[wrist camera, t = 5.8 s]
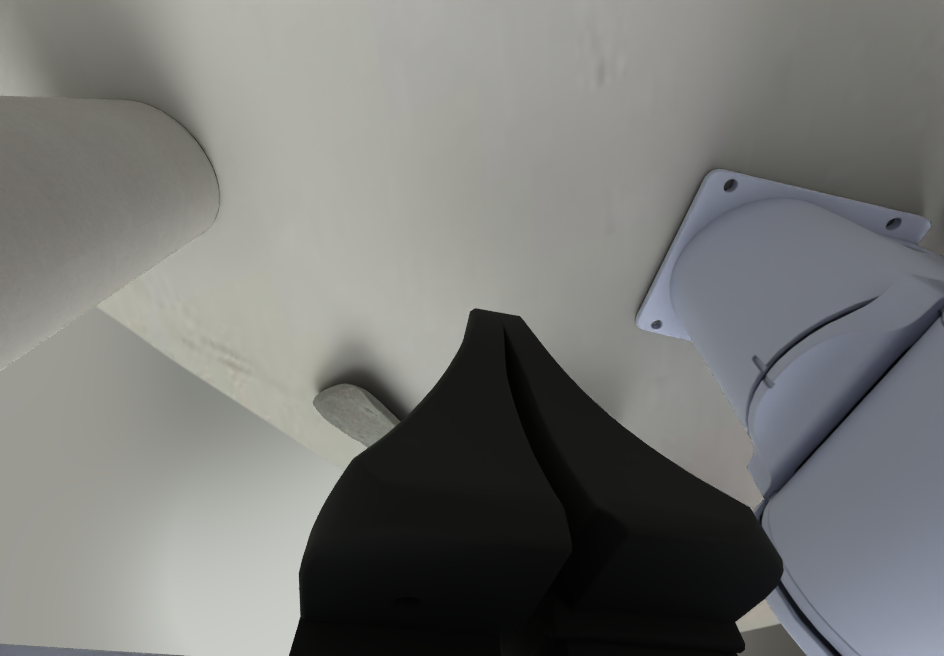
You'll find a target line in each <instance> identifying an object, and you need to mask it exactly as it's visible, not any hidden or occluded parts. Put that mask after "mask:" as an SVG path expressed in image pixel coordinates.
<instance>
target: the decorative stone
mask: <svg viewBox="0 0 944 656" xmlns="http://www.w3.org/2000/svg"><path fill="white" fill-rule="evenodd" d="M313 405H314V406H315V408H316V409H317V410H318V412H319V413H320V414H321V415H322V416H323V417H324V418H325V419H326V420H327V421H328V422H330V423H331V424H332V425H334V426H335V427H337V428H338V429H340V430H341V431H342V432H344V433H345V434H347V435H348V436H350V437H351V438H353V439H355V440H357V441H359V442H361V443H362V444H363V445H365V446H366V447H368V448H369V447H370V446H371V445H373V444H374V443H375V442H377V441H378V440H379V439H381V438H382V437H383V436H385V435H386V434H387V433H388V432H389V431H391V430H392V429H393V428H394V427H395V426H396V425H397V424H398V423H399V422H400V421H399V420H398V419H397V418H396V417H395V416H394V415H393V414H392V413H391V412H390V411H389V410H388V409H387V408H386V407H385V406H384V405H383V404H382V403H381V402H380V401H379V400H377V399H376V398H375V397H374V396H373V395H371V394H370V393H369V392H368V391H366V390H365V389H363V388H361V387H358V386H356V385H352V384H339V385H336V386H333V387H330V388H328V389H326V390H324V391H322V392H320V393H319V394H318V395H317V396H316V397H315V398H314V401H313Z"/></svg>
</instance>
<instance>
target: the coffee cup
mask: <svg viewBox="0 0 944 656" xmlns="http://www.w3.org/2000/svg"><path fill="white" fill-rule="evenodd" d="M218 209H219V188H218V183H217V179H216V176H215V173H214V171H213V168H212V166H211V164H210V162H209V160H208V158H207V156H206V155H205V153H204V151H203V150H202V148H201V147H200V146H199V144H198V143H197V142H196V140H195V139H194V138H193V137H192V136H191V135H190V134H189V132H188V131H187V130H186V129H185V128H183V127H182V126H181V125H180V124H179V123H178V122H177V121H175V120H174V119H173V118H171V117H170V116H168V115H167V114H165V113H164V112H162V111H160V110H158V109H156V108H154V107H152V106H150V105H147V104H144V103H141V102H137V101H130V100H111V99H80V98H50V97H20V96H0V371H1V370H3V369H4V368H6V367H7V366H8V365H10V364H11V363H13V362H14V361H16V360H17V359H18V358H20V357H22V356H23V355H24V354H26V353H27V352H29V351H30V350H32V349H33V348H35V347H36V346H38V345H39V344H40V343H42V342H43V341H45V340H46V339H48V338H49V337H51V336H52V335H53V334H55V333H57V332H58V331H59V330H61V329H62V328H64V327H65V326H66V325H68V324H69V323H71V322H73V321H74V320H75V319H77V318H78V317H80V316H81V315H83V314H84V313H86V312H87V311H89V310H90V309H91V308H93V307H95V306H96V305H98V304H99V303H100V302H102V301H103V300H105V299H106V298H108V297H109V296H111V295H112V294H114V293H115V292H117V291H118V290H120V289H121V288H123V287H124V286H125V285H127V284H128V283H130V282H131V281H133V280H134V279H136V278H137V277H139V276H140V275H142V274H143V273H145V272H146V271H148V270H149V269H151V268H152V267H153V266H155V265H156V264H158V263H159V262H161V261H162V260H164V259H165V258H167V257H168V256H170V255H171V254H173V253H174V252H176V251H177V250H179V249H180V248H182V247H183V246H184V245H186V244H187V243H189V242H190V241H192V240H193V239H195V238H196V237H198V236H199V235H201V234H202V233H204V232H205V231H206V230H207V229H208V228H209V227H210V226H211V225H212V224H213V222H214V220H215V218H216V216H217V213H218Z"/></svg>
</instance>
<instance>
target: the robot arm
mask: <svg viewBox="0 0 944 656" xmlns="http://www.w3.org/2000/svg"><path fill="white" fill-rule="evenodd" d="M730 179H733V181H734V183H733V186H732V187H731V188H729V189H728V190H724V184H725V183H726V182H727V181H728V180H730ZM892 219H895V220H894V222H893V223H892V224H891V225H890V226H887V227H886V225H887V223H888V222H889V221H890V220H892ZM930 227H931V222H930V220H929V219H927V218H925V217H922V216H920V215H916V214H911V213H907V212H903V211H899V210H894V209H890V208H886V207H882V206H877V205H873V204H869V203H865V202H860V201H856V200H852V199H848V198H843V197H839V196H835V195H831V194H826V193H822V192H818V191H814V190H809V189H805V188H801V187H797V186H792V185H788V184H784V183H780V182H775V181H771V180H767V179H763V178H758V177H754V176H750V175H746V174H741V173H737V172H733V171H729V170H724V169H715V170H712V171H711V172H709V173H708V174H707V175H706V177H705V178H704V180H703V182H702V184H701V186H700V188H699V190H698V192H697V194H696V196H695V198H694V200H693V202H692V204H691V206H690V208H689V210H688V212H687V214H686V216H685V219H684V221H683V223H682V225H681V227H680V229H679V231H678V233H677V235H676V237H675V239H674V241H673V243H672V245H671V247H670V249H669V251H668V253H667V255H666V257H665V259H664V261H663V263H662V265H661V267H660V269H659V271H658V273H657V275H656V277H655V279H654V281H653V284H652V286H651V288H650V290H649V292H648V294H647V296H646V298H645V300H644V302H643V304H642V306H641V308H640V310H639V312H638V314H637V316H636V319H635V321H636V324H637V326H638V327H639V328H640V329H642V330H645V331H649V332H654V333H658V334H662V335H667V336H671V337H675V338H680V339H684V340H688V341H693V343H694V345H695V346H696V348H697V350H698V351H699V353H700V355H701V356H702V358H703V360H704V361H705V363H706V365H707V366H708V368H709V370H710V371H711V373H712V375H713V376H714V378H715V380H716V381H717V383H718V385H719V386H720V388H721V390H722V391H723V393H724V395H725V396H726V398H727V400H728V401H729V403H730V405H731V406H732V408H733V410H734V411H735V413H736V415H737V417H738V418H739V420H740V422H741V423H742V425H743V427H744V428H745V430H746V432H747V433H748V435H749V436H750V438H751V440H752V443H753V446H754V452H753V456H752V459H751V461H750V462H749V464H748V465H747V468H748V470H749V472H750V474H751V476H752V477H753V479H754V481H755V483H756V485H757V487H758V488H759V490H760V492H761V494H762V496H763V498H765V499H764V500H763V501H762V502H761V503H760V504H759V505H758V506H757V507H756V508H755V509H754V510H753V511H752V510H751V508H750V507H748V506H746V505H744V504H743V503H741V502H739V501H737V500H736V499H734V498H732V497H730V496H729V495H727V494H725V493H723V492H722V491H720V490H718V489H716V488H715V487H713V486H711V485H709V484H708V483H706V482H704V481H702V480H701V479H699V478H697V477H695V476H694V475H692V474H691V473H689V472H687V471H686V470H684V469H683V468H681V467H680V466H678V465H677V464H675V463H674V462H672V461H670V460H669V459H667V458H666V457H664V456H663V455H661V454H660V453H658V452H657V451H656V450H654V449H653V448H651V447H650V446H648V445H647V444H646V443H644V442H643V441H642V440H640V439H639V438H638V437H636V436H635V435H634V434H633V433H631V432H630V431H629V430H627V429H626V428H625V427H623V426H622V425H621V424H620V423H618V422H617V421H616V420H615V419H614V418H612V417H611V416H610V415H609V414H608V413H607V412H605V411H604V410H603V409H602V408H601V407H600V406H599V405H598V404H597V403H595V402H594V401H593V400H592V399H591V398H590V397H589V396H588V395H587V394H586V393H585V392H584V391H583V390H582V389H581V388H580V387H579V386H578V385H577V384H576V383H575V382H574V381H573V380H572V379H571V378H570V377H569V376H568V374H567V373H566V372H565V371H564V370H563V369H562V368H561V367H560V366H559V364H558V363H557V362H556V361H555V360H554V358H553V357H552V356H551V355H550V354H549V352H548V351H547V350H546V349H545V347H544V346H543V345H542V344H541V342H540V341H539V340H538V338H537V337H536V336H535V335H534V333H533V332H532V331H531V329H530V328H529V327H528V326H527V324H526V323H525V322H524V320H523V319H522V318H521V317H520V316H516V315H510V314H504V313H499V312H493V311H487V310H482V309H476V308H475V309H474V310H472V311H470V314H469V319H468V323H467V327H466V331H465V335H464V339H463V342H462V344H461V347H460V348H459V350H458V352H457V354H456V355H455V357H454V359H453V360H452V362H451V364H450V365H449V367H448V368H447V370H446V371H445V373H444V374H443V376H442V377H441V378H440V380H439V381H438V382H437V384H436V385H435V386H434V387H433V389H432V390H431V391H430V392H429V393H428V394H427V395H426V397H425V398H424V399H423V400H422V401H421V402H420V403H419V404H418V405H417V406H416V407H415V409H414V410H413V411H412V412H410V413H409V414H408V415H407V416H406V417H405V418H404V419H403V420H402V421H401V422H399V423H398V424H397V425H396V426H395V427H394V428H393V429H392V430H391V431H389V432H388V433H387V434H386V435H385V436H383V437H382V438H381V439H379V440H378V441H377V442H375V443H374V444H373V445H371V446H370V447H369V448H367V449H366V450H365V451H363V452H362V453H360V454H359V455H358V456H356V457H355V458H354V459H352V461H351V462H350V464H349V465H348V467H347V468H346V470H345V471H344V473H343V474H342V476H341V477H340V479H339V480H338V482H337V483H336V485H335V486H334V488H333V490H332V491H331V493H330V495H329V496H328V498H327V500H326V501H325V503H324V505H323V507H322V509H321V511H320V513H319V515H318V517H317V519H316V521H315V523H314V526H313V528H312V530H311V533H310V536H309V539H308V542H307V546H306V549H305V552H304V555H303V559H302V562H301V567H300V571H299V590H300V614H301V617H300V620H299V624H298V627H297V630H296V634H295V637H294V641H293V644H292V647H291V651H290V654H289V656H738V655H737V653H741V652H743V651H744V650H745V643H744V640H743V638H742V636H741V634H740V632H739V630H738V628H737V625H736V623H735V622H736V621H737V620H739V619H740V618H741V617H742V616H744V615H745V614H746V613H747V612H749V611H750V610H751V609H752V608H754V607H755V606H756V605H757V604H759V603H760V602H761V601H763V600H764V599H766V601H767V603H768V604H769V606H770V608H771V609H772V610H773V612H774V613H775V615H776V616H777V618H778V619H779V621H780V622H781V624H782V625H783V627H784V628H785V629H786V630H787V632H788V633H789V634H790V636H791V637H792V638H793V639H794V640H795V642H796V643H797V644H798V645H799V647H800V648H801V649H802V650H803V652H804V653H805V654H806V655H807V656H944V257H943V256H941V255H938V254H936V253H934V252H932V251H930V250H928V249H925V248H923V247H921V246H919V245H917V244H918V243H919V242H920V241H921V239H922V238H923V237H924V236H925V235H926V233H927V232H928V231H929V229H930ZM656 320H660V322H659V323H658V324H656V325H652V323H653V321H656ZM0 656H181V655H167V654H166V655H165V654H151V653H135V652H119V651H104V650H88V649H73V648H57V647H40V646H25V645H10V644H0Z"/></svg>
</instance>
